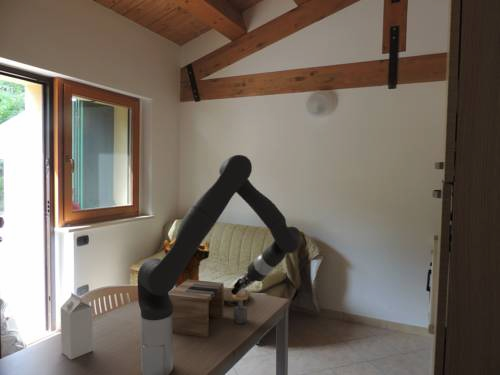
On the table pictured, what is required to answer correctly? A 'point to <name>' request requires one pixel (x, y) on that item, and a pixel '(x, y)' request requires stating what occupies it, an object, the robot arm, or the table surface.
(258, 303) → the table surface
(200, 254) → the decorative vase
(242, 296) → the cylinder with orange collar
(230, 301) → the wood slice
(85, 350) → the milk carton
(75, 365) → the table surface
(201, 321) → the wooden slotted block
